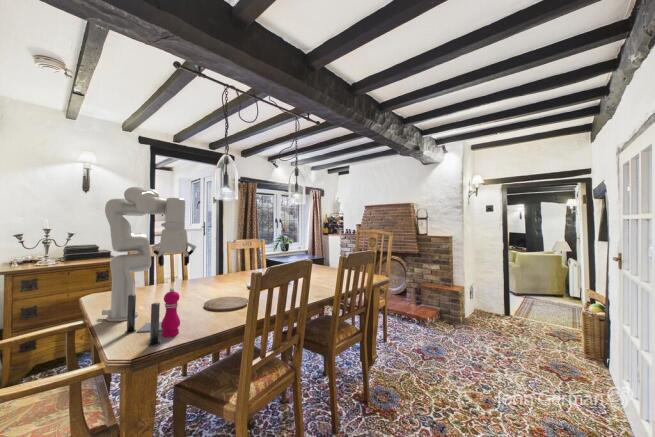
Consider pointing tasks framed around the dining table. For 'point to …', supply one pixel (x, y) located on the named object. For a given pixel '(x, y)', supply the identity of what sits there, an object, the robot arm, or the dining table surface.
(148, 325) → the slate coaster
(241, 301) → the trivet
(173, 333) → the pepper mill
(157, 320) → the gate course
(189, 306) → the dining table surface
